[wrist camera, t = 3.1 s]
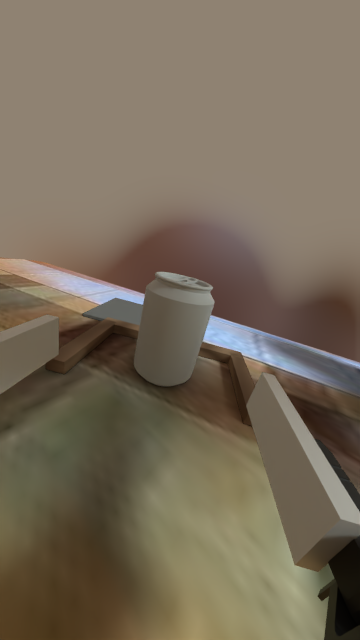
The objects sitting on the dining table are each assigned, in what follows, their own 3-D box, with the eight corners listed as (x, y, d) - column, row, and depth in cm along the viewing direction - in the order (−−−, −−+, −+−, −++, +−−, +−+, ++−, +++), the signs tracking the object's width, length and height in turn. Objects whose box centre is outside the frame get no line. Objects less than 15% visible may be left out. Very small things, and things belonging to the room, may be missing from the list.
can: (121, 361, 23) (135, 265, 19) (166, 349, 28) (184, 272, 24) (156, 401, 18) (184, 286, 14) (202, 378, 23) (232, 289, 19)
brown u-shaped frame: (237, 360, 30) (240, 352, 30) (262, 428, 18) (268, 418, 18) (107, 325, 31) (107, 317, 30) (45, 369, 19) (45, 357, 18)
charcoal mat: (166, 313, 44) (167, 311, 44) (153, 334, 32) (154, 332, 32) (115, 299, 44) (115, 297, 44) (82, 315, 32) (83, 313, 32)
